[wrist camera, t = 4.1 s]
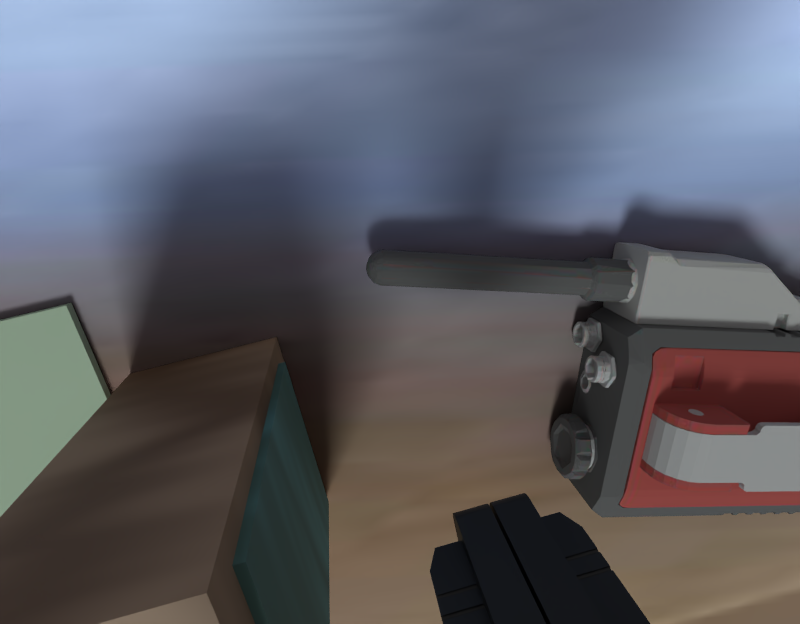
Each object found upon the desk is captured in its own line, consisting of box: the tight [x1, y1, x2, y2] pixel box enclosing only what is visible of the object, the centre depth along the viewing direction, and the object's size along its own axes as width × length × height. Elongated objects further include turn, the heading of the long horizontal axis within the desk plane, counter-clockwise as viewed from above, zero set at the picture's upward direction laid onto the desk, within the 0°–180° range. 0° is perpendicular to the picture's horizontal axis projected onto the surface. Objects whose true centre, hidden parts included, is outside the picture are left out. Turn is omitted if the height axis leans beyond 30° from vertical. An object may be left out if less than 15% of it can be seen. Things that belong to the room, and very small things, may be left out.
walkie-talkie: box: [366, 242, 800, 517], centre depth 16 cm, size 9×4×20 cm
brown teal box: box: [0, 337, 330, 624], centre depth 12 cm, size 5×6×10 cm
